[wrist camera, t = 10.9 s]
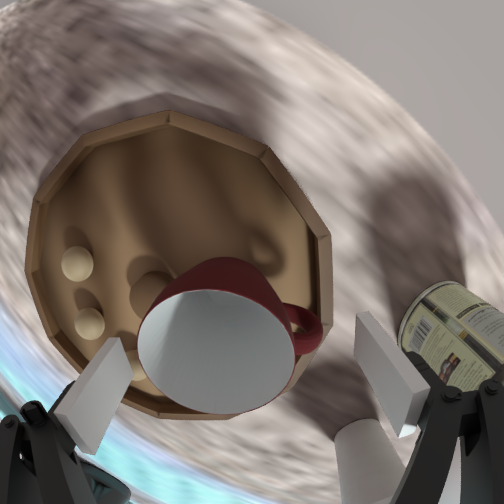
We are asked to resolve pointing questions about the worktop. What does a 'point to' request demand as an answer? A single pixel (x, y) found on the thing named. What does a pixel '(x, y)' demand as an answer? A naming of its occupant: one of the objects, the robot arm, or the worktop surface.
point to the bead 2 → (89, 323)
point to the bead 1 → (77, 263)
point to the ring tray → (168, 233)
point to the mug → (223, 338)
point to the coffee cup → (367, 463)
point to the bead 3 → (135, 365)
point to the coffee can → (455, 335)
